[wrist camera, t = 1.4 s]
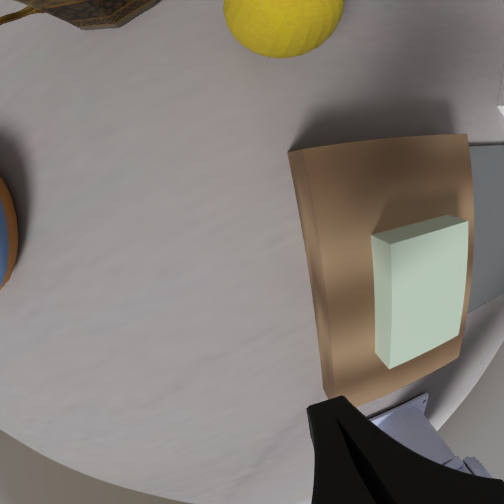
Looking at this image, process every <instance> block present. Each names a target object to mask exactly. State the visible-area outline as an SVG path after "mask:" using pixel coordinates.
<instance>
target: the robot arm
mask: <svg viewBox="0 0 504 504" xmlns="http://www.w3.org/2000/svg"><path fill="white" fill-rule="evenodd" d="M428 397H429V395H428V394H427V393H424V394H422V395H420V396H418V397H416V398H414V399H412V400H410V401H408V402H406V403H404V404H402V405H400V406H398V407H396V408H394V409H392V410H389V411H387V412H385V413H383V414H380V415H378V416H376V417H373V418H371V419H368V418H367V417H365V416H364V415H363V414H362V413H361V412H360V411H359V410H358V409H357V408H356V407H355V406H354V405H353V404H352V403H351V402H350V401H349V400H348V399H347V398H346V397H345V396H343V395H341V396H338V397H335V398H332V399H329V400H326V401H323V402H320V403H317V404H313V405H310V406H309V407H308V408H307V415H308V422H309V429H310V435H311V439H312V442H313V446H314V452H315V468H314V486H313V496H312V503H311V504H504V482H503V480H501V479H494V478H492V477H491V475H490V474H489V473H488V471H487V470H486V469H485V468H484V466H483V465H482V464H481V463H480V462H479V460H477V459H476V458H475V457H466V458H465V459H464V460H463V462H464V463H463V462H462V461H461V459H460V458H459V457H458V456H457V457H456V456H455V455H454V453H453V452H452V451H451V449H450V448H449V447H448V445H447V444H446V443H445V441H444V440H443V439H442V438H441V436H440V435H439V434H438V432H437V431H436V430H435V428H434V427H433V426H432V425H431V423H430V422H429V421H428V419H427V418H426V417H425V416H424V412H425V408H426V405H427V401H428ZM464 464H465V465H464Z"/></svg>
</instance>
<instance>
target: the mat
mask: <svg viewBox="0 0 504 504" xmlns="http://www.w3.org/2000/svg"><path fill="white" fill-rule="evenodd" d="M469 150H470V158H471V168H472V179H473V195H474V252H473V268H472V280H471V289H470V297H469V305H468V312H467V314H468V313H470V312H471V311H473V310H475V309H477V308H478V307H480V306H482V305H484V304H485V303H487V302H489V301H490V300H492V299H493V298H495V297H497V296H498V295H500V294H501V293H503V292H504V145H487V146H469Z"/></svg>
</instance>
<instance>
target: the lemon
mask: <svg viewBox="0 0 504 504" xmlns="http://www.w3.org/2000/svg"><path fill="white" fill-rule="evenodd" d="M343 7H344V0H224V8H223V10H224V15H225V19H226V23H227V26H228V28H229V29H230V31H231V33H232V34H233V36H234V37H235V38H236V39H237V40H238V41H239V42H240V43H241V44H242V45H243V46H244V47H246V48H248V49H249V50H251V51H253V52H255V53H258V54H260V55H263V56H267V57H273V58H291V57H295V56H299V55H303V54H305V53H307V52H309V51H311V50H313V49H315V48H317V47H318V46H320V45H321V44H322V43H323V42H324V41H325V40H326V39H327V38H328V37H329V36H330V35H331V34H332V33H333V32H334V30H335V28H336V26H337V24H338V22H339V20H340V18H341V16H342V13H343Z"/></svg>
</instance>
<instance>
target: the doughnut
mask: <svg viewBox="0 0 504 504" xmlns="http://www.w3.org/2000/svg"><path fill="white" fill-rule="evenodd" d="M18 240H19V238H18V226H17V216H16V212H15V208H14V205H13V201H12V197H11V195H10V193H9V191H8V189H7V187H6V184H5V182H4V180H3V179H2V178H1V177H0V290H1V288H2V287H3V286H4V285H5V284H6V282H7V281H8V280H9V279H10V276H11V273H12V270H13V267H14V265H15V262H16V259H17V249H18Z"/></svg>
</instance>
